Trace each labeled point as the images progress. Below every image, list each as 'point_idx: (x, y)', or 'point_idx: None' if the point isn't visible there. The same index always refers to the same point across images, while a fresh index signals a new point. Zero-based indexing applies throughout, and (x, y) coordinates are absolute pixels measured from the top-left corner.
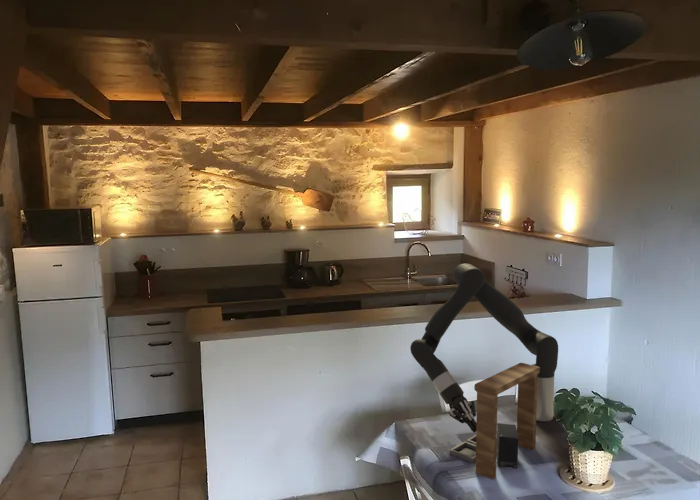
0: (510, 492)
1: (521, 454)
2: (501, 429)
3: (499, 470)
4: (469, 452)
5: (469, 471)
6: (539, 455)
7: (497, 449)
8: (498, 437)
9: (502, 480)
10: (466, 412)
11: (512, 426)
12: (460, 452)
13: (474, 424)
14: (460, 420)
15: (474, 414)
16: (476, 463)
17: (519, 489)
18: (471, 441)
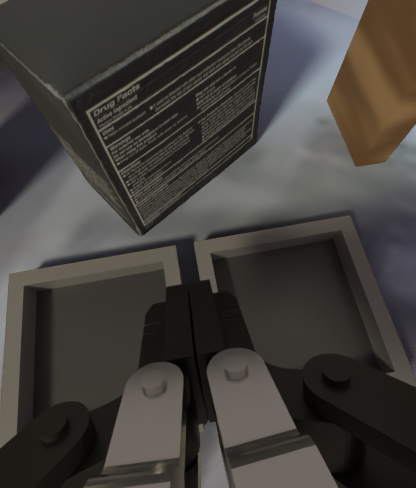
0: (351, 26)
1: (67, 157)
2: (166, 5)
3: (272, 123)
4: (278, 315)
5: (405, 183)
6: (19, 113)
7: (215, 134)
8: (249, 16)
9: (320, 76)
10: (293, 465)
11: (31, 4)
12: (328, 351)
13: (208, 311)
14: (385, 462)
15: (69, 420)
16: (410, 125)
17: (309, 23)
18: None
